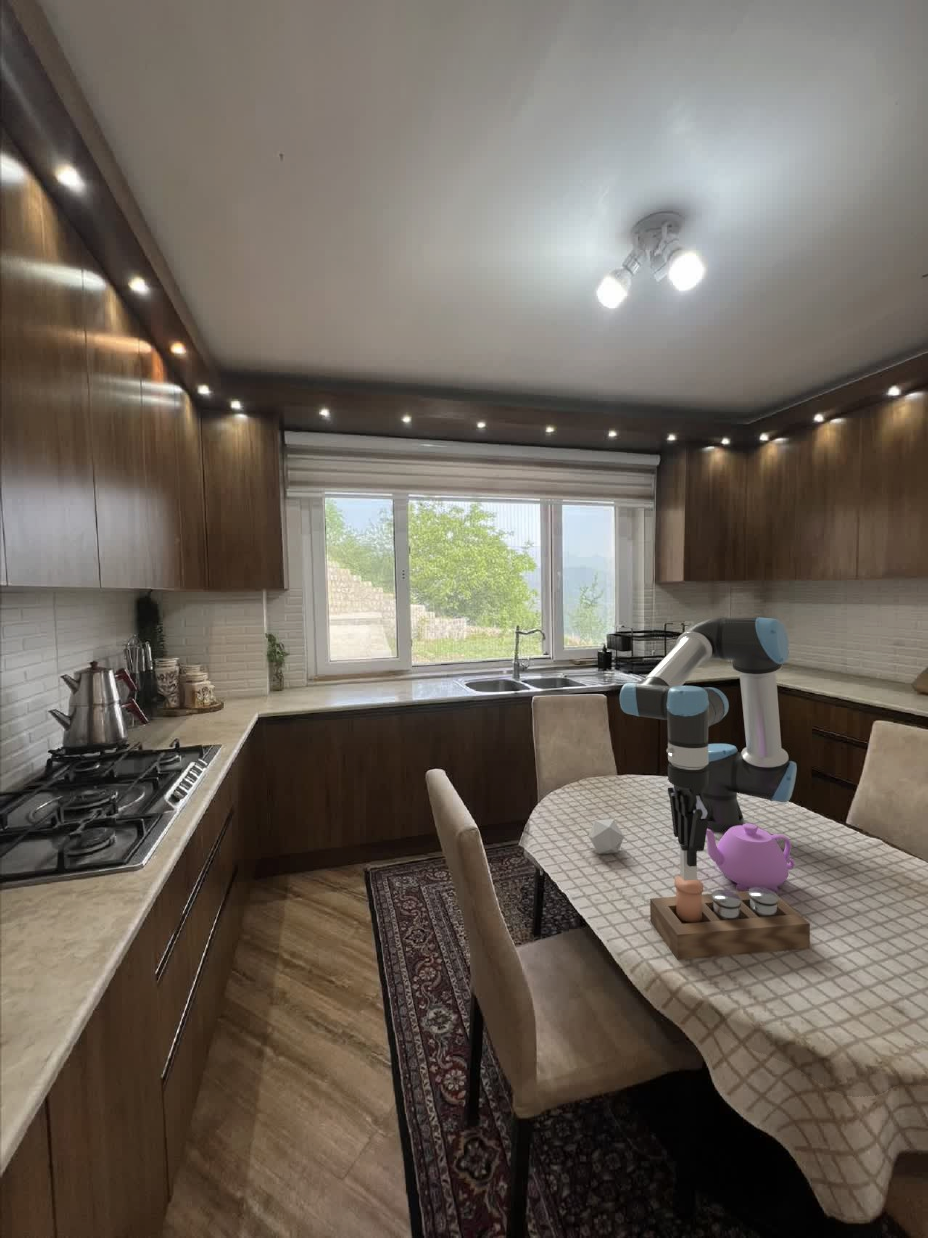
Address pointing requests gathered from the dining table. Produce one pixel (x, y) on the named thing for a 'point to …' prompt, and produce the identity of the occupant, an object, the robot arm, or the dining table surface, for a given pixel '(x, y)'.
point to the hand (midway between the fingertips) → (688, 878)
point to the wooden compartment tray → (728, 930)
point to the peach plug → (689, 899)
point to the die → (606, 836)
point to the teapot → (751, 857)
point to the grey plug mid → (726, 905)
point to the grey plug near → (763, 901)
